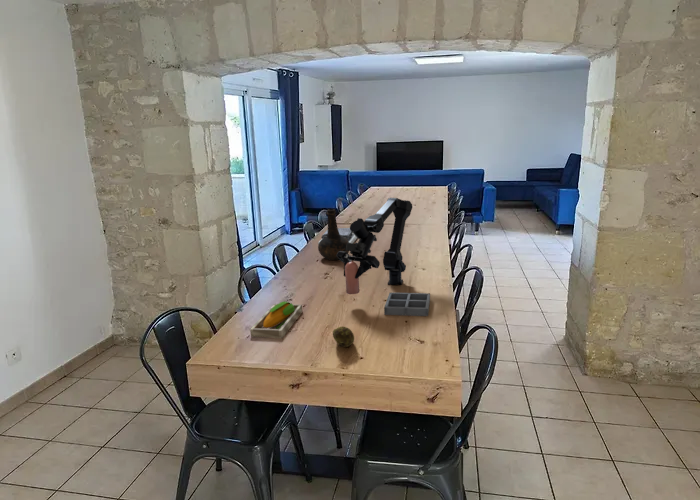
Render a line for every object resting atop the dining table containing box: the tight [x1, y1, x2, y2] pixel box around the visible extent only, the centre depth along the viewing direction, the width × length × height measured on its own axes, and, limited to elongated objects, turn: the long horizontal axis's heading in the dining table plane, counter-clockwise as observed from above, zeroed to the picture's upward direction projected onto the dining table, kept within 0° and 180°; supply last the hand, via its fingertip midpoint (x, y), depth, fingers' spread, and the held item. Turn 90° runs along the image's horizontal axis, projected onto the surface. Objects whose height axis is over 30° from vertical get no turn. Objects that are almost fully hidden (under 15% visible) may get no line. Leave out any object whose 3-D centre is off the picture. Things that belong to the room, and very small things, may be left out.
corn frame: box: [249, 303, 303, 339], centre depth 187 cm, size 25×12×3 cm, turn 168°
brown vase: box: [317, 208, 350, 261], centre depth 269 cm, size 18×18×28 cm
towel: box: [321, 227, 353, 241], centre depth 305 cm, size 15×18×8 cm
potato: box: [332, 326, 355, 348], centre depth 165 cm, size 8×13×8 cm, turn 168°
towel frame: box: [317, 233, 358, 245], centre depth 306 cm, size 23×20×3 cm
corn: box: [262, 300, 295, 329], centre depth 186 cm, size 7×8×20 cm
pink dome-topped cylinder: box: [345, 261, 360, 295], centre depth 198 cm, size 5×5×13 cm
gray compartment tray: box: [383, 292, 431, 317], centre depth 197 cm, size 17×17×3 cm
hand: (350, 277), depth 197 cm, fingers closed on pink dome-topped cylinder, 5 cm apart
